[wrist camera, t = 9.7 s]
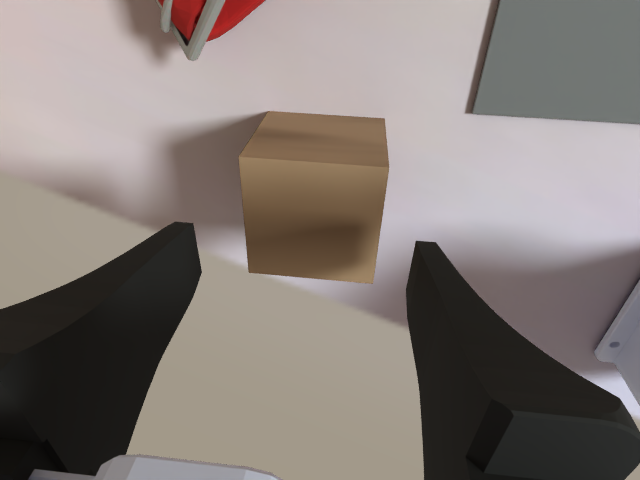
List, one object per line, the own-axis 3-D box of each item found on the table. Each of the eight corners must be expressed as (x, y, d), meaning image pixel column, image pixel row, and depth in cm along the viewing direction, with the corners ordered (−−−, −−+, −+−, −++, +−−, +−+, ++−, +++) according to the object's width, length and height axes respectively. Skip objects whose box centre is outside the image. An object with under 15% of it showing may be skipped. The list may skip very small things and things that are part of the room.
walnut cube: (372, 217, 20) (373, 283, 16) (272, 209, 21) (248, 272, 16) (384, 117, 17) (389, 167, 13) (268, 110, 18) (238, 156, 14)
